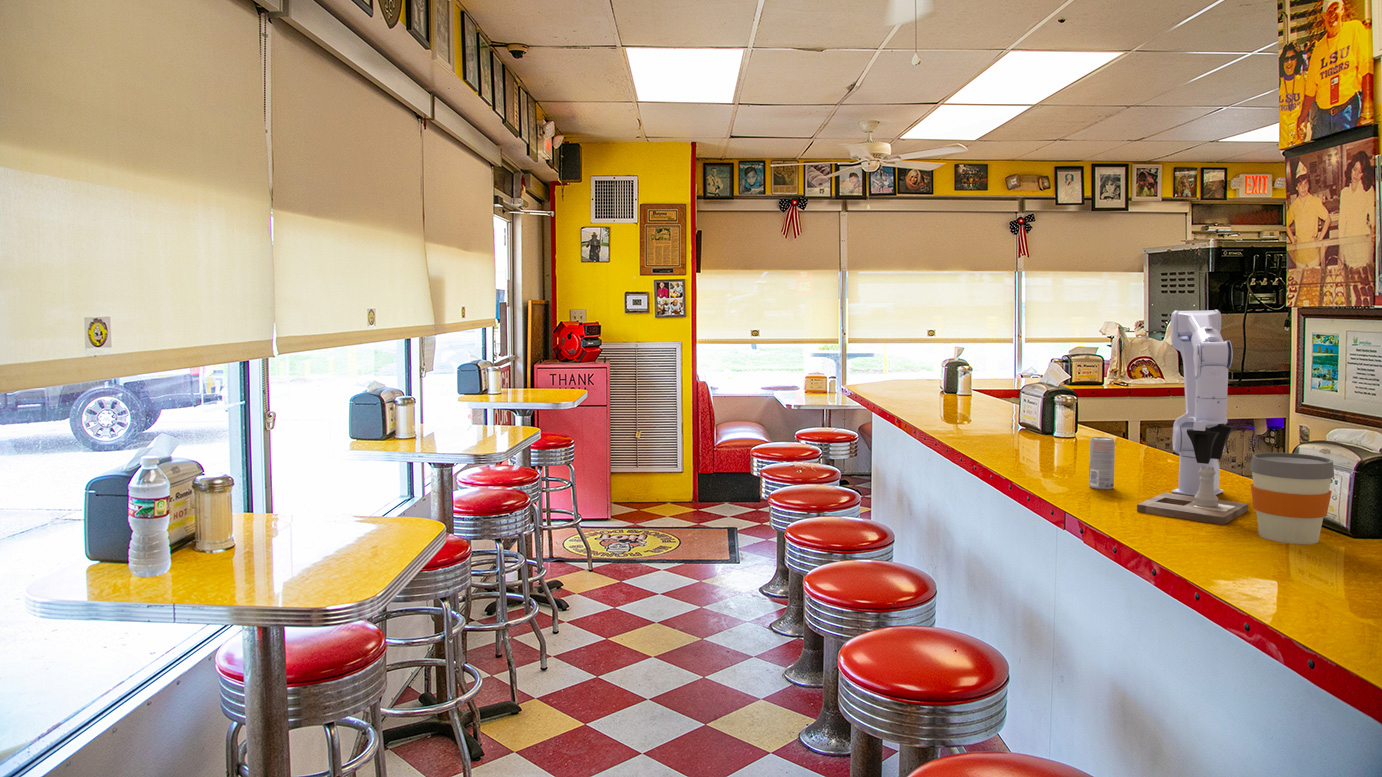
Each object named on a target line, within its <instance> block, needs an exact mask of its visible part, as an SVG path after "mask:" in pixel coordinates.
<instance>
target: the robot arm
mask: <svg viewBox="0 0 1382 777" xmlns="http://www.w3.org/2000/svg"><path fill="white" fill-rule="evenodd" d="M1221 330H1222V314H1221V311H1219V310H1218V309H1214V310H1213V309H1212V310H1174V311H1172V313H1171V315H1170V338H1171V339H1170V342H1171V344H1172V348H1173V349H1174V350H1177V351H1179V352H1180V356H1181V358H1182V362H1183V365H1182V366H1183V382H1184V385H1183V386H1184V397H1185V398H1184V399H1185V401H1184V402H1185V413H1184V414H1182V415H1180V416H1179V417H1177V418H1176V419H1175V420H1174V422H1173V426H1172V439H1171V440H1172V441H1171V442H1172V449H1173V451H1174V452H1175V453H1177V454H1178V455H1179V460H1178V461H1179V463H1178V464H1179V465H1178V488H1175V489H1172V490H1171V493H1172V494H1179V495H1186V496H1195V495H1196V494H1197V492H1198V490H1199V485H1200V479H1199V478H1200V474H1199V472H1198V471H1199V470H1200V467H1202V468H1203V466H1205V467H1206V468H1207V469H1208V467H1211V469H1212V467H1213V468H1214V470H1215V472H1216V474H1215V475H1214V479H1215V480H1214V491H1215V494H1216V496H1217V495H1220V494H1221V493H1223V492H1224V489H1221V488H1220V463H1219V461H1218V460H1221V459H1222V457H1223V453H1224V452H1225V448H1226V443H1227V440H1228V438H1229V437H1230V435H1231V433H1232V432H1233V430H1234V426H1231V425H1227V424H1228V417H1227V412H1228V389H1229V388H1228V386H1229V385H1228V384H1229V369H1230V368H1231V366H1232V362H1233V358H1234V357H1233V354H1234V353H1233V346H1232V342H1231V340H1225V341H1224V339H1223V337H1222V335H1221V334H1222V333H1221Z"/></svg>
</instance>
